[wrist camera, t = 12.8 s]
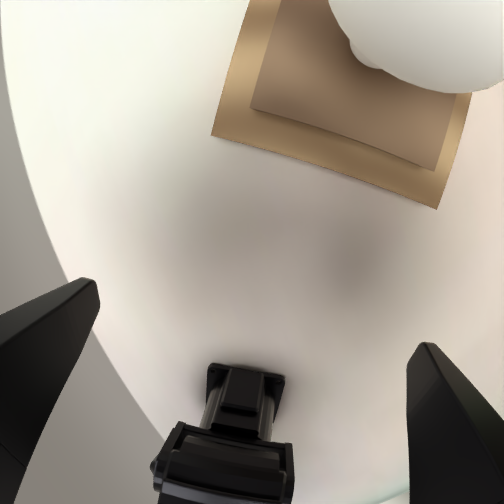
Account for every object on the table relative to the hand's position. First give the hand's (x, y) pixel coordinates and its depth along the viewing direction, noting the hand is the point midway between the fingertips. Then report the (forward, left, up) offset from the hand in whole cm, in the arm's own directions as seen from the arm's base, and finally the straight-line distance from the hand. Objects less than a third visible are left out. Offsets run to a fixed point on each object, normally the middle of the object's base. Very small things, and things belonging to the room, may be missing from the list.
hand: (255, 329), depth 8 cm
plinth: (+10, -4, -13) cm, 17 cm away
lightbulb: (+10, -3, -10) cm, 14 cm away
